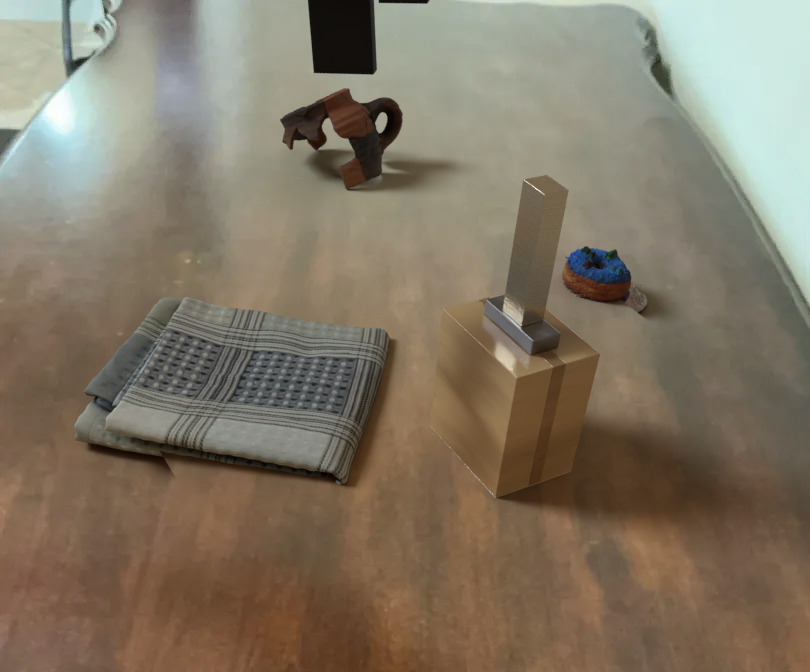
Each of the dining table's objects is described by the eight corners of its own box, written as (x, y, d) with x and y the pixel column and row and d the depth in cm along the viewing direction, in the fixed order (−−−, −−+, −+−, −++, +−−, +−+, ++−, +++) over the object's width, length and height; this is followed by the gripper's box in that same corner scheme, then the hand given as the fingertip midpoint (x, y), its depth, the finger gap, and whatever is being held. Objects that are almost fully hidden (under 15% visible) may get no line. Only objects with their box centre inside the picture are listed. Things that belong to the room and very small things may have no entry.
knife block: (568, 482, 64) (601, 353, 57) (493, 509, 61) (517, 378, 54) (500, 415, 68) (522, 288, 62) (428, 437, 66) (442, 308, 59)
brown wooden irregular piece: (325, 204, 91) (287, 115, 87) (295, 206, 99) (259, 125, 96) (432, 152, 93) (400, 63, 90) (394, 158, 102) (363, 77, 98)
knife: (534, 463, 63) (589, 201, 51) (508, 472, 62) (558, 207, 50) (491, 420, 66) (534, 162, 54) (466, 428, 65) (504, 168, 53)
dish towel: (395, 346, 74) (398, 309, 71) (345, 500, 61) (346, 460, 59) (159, 310, 75) (154, 272, 73) (61, 452, 62) (52, 412, 60)
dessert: (530, 285, 80) (569, 219, 79) (557, 303, 86) (595, 242, 84) (608, 332, 77) (650, 265, 75) (631, 347, 83) (671, 285, 81)
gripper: (334, -550, 44) (360, -21, 58) (103, -733, 26) (222, 108, 39) (498, -563, 43) (485, -20, 57) (380, -766, 24) (403, 114, 38)
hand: (377, 34), depth 48 cm, fingers open, 13 cm apart
